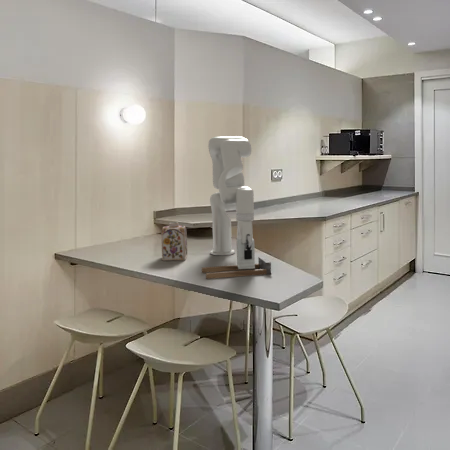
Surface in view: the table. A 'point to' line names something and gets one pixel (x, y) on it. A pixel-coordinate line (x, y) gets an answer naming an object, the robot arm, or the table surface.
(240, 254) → the supplement box
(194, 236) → the table surface
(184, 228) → the decorative jar
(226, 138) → the robot arm
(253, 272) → the guide lane
